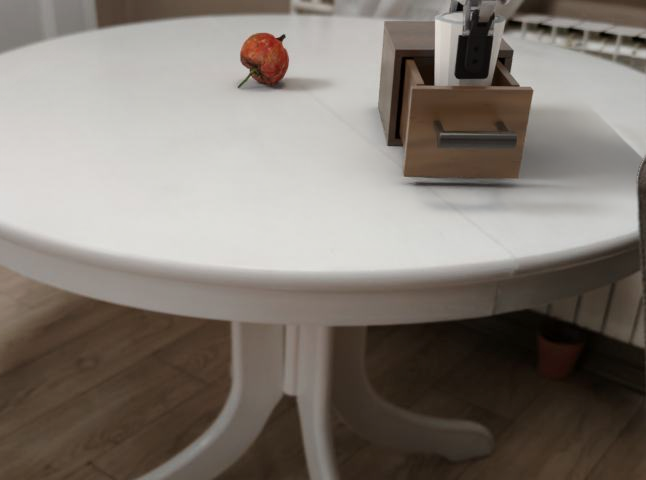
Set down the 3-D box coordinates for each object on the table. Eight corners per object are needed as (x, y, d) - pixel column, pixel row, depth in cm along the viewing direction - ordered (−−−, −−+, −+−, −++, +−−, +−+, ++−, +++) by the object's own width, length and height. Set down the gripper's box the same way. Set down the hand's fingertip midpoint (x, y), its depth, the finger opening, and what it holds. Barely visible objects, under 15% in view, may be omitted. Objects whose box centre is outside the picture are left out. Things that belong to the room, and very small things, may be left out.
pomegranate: (261, 110, 112) (313, 59, 111) (228, 69, 108) (281, 16, 108) (244, 102, 118) (292, 53, 118) (212, 63, 114) (262, 13, 114)
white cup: (508, 87, 83) (519, 15, 79) (474, 101, 79) (483, 26, 75) (450, 76, 87) (458, 7, 83) (414, 89, 83) (421, 17, 79)
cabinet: (498, 147, 92) (514, 50, 86) (387, 145, 92) (395, 49, 86) (475, 107, 105) (487, 21, 99) (377, 106, 105) (384, 20, 100)
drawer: (530, 200, 76) (548, 106, 71) (409, 198, 76) (418, 105, 72) (491, 133, 93) (503, 54, 88) (391, 132, 93) (398, 53, 89)
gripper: (555, -133, 65) (520, 92, 74) (511, -139, 79) (486, 49, 89) (461, -131, 65) (438, 92, 75) (434, -138, 80) (417, 49, 89)
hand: (464, 67), depth 82 cm, fingers closed on white cup, 6 cm apart
